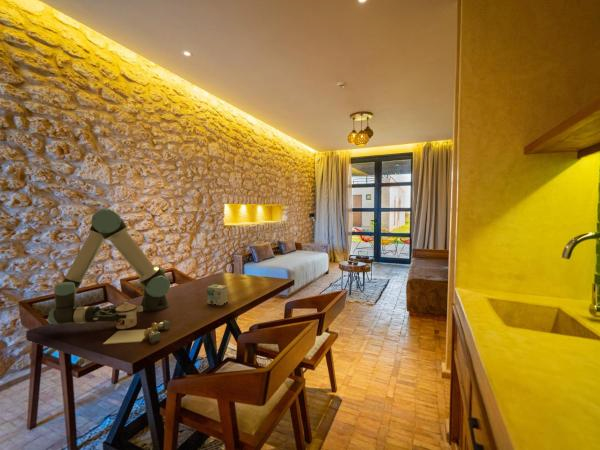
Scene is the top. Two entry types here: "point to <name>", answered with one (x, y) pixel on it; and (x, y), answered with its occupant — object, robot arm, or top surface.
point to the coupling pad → (126, 337)
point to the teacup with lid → (126, 322)
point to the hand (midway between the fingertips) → (138, 311)
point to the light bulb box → (217, 294)
